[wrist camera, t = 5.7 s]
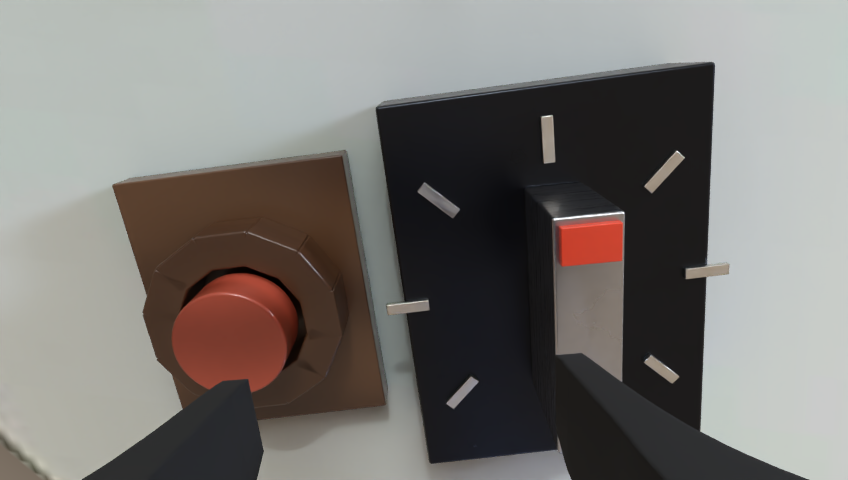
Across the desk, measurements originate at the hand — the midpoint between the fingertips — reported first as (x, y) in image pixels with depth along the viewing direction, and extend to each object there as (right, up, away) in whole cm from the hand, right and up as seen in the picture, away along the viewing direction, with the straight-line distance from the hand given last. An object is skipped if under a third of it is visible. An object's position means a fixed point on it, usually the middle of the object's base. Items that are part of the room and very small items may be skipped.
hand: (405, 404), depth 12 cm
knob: (+5, +2, +5) cm, 7 cm away
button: (-6, +1, +6) cm, 8 cm away
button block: (-6, +2, +8) cm, 10 cm away
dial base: (+5, +3, +8) cm, 10 cm away
